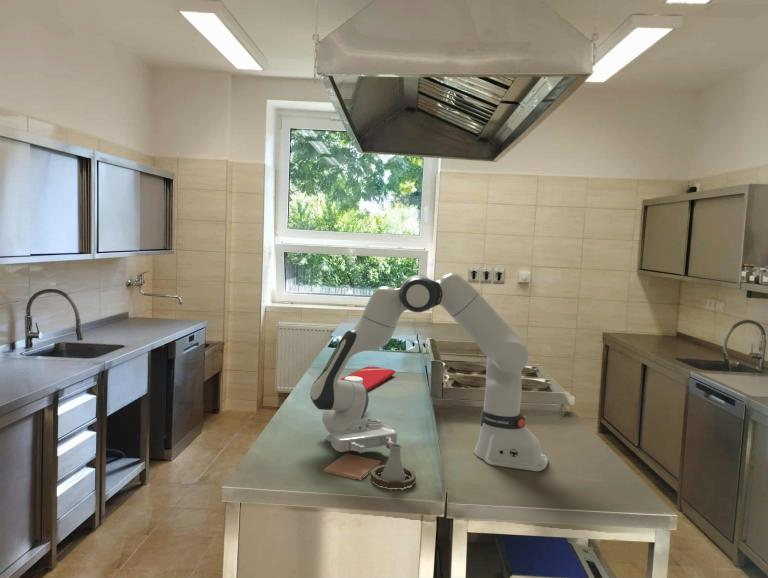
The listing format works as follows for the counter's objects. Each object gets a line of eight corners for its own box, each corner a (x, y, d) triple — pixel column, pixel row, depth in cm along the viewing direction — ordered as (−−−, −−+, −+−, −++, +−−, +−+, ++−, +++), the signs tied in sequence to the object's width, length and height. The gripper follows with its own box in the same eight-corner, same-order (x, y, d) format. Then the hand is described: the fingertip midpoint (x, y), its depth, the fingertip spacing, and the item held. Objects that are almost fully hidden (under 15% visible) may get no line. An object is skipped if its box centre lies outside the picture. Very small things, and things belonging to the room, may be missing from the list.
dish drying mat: (325, 391, 253) (325, 382, 253) (364, 372, 291) (365, 364, 291) (359, 397, 248) (360, 388, 247) (395, 377, 286) (396, 369, 285)
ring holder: (420, 477, 172) (421, 470, 171) (405, 493, 161) (406, 486, 160) (381, 468, 176) (381, 461, 176) (363, 483, 165) (364, 476, 165)
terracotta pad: (380, 463, 179) (380, 461, 179) (360, 480, 166) (360, 477, 166) (346, 455, 184) (346, 453, 183) (324, 471, 171) (324, 468, 171)
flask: (410, 480, 169) (413, 445, 168) (397, 488, 163) (400, 452, 162) (388, 473, 173) (391, 438, 172) (374, 481, 167) (377, 445, 166)
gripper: (324, 426, 181) (346, 441, 170) (383, 418, 192) (407, 433, 180) (322, 446, 182) (344, 463, 170) (381, 438, 193) (406, 454, 181)
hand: (377, 448), depth 175 cm, fingers open, 8 cm apart
